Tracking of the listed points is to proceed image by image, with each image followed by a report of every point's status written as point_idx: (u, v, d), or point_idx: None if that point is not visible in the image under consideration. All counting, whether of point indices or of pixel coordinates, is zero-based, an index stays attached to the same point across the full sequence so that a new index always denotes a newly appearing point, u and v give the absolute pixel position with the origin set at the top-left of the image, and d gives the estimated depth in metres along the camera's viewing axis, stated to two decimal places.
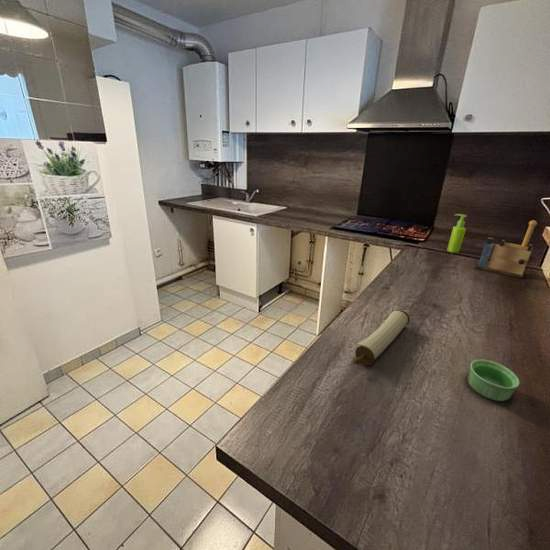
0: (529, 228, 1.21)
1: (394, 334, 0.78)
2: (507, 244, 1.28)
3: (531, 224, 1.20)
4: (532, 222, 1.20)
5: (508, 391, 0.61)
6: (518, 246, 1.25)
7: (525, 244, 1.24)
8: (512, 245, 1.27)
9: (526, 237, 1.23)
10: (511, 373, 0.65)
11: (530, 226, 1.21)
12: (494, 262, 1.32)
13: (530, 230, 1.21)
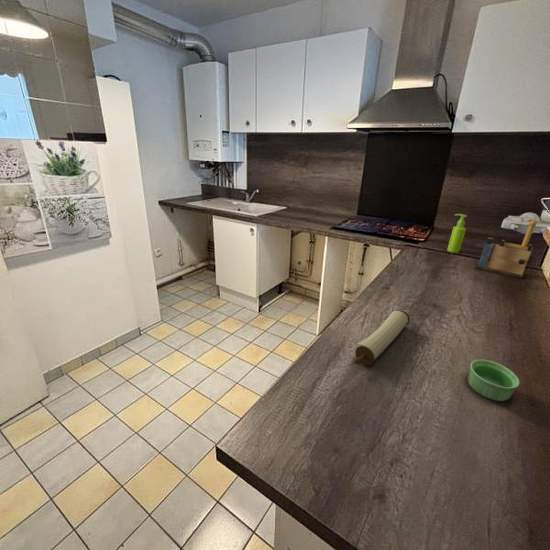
0: (529, 228, 1.21)
1: (394, 334, 0.78)
2: (507, 244, 1.28)
3: (531, 224, 1.20)
4: (532, 222, 1.20)
5: (508, 391, 0.61)
6: (518, 246, 1.25)
7: (525, 244, 1.24)
8: (512, 245, 1.27)
9: (526, 237, 1.23)
10: (511, 373, 0.65)
11: (530, 226, 1.21)
12: (494, 262, 1.32)
13: (530, 230, 1.21)
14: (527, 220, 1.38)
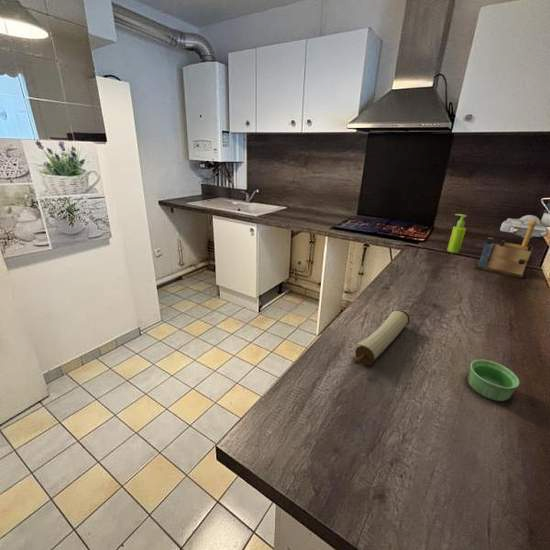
0: (529, 228, 1.21)
1: (394, 334, 0.78)
2: (507, 244, 1.28)
3: (531, 224, 1.20)
4: (532, 222, 1.20)
5: (508, 391, 0.61)
6: (518, 246, 1.25)
7: (525, 244, 1.24)
8: (512, 245, 1.27)
9: (526, 237, 1.23)
10: (511, 373, 0.65)
11: (530, 226, 1.21)
12: (494, 262, 1.32)
13: (530, 230, 1.21)
14: (527, 223, 1.32)
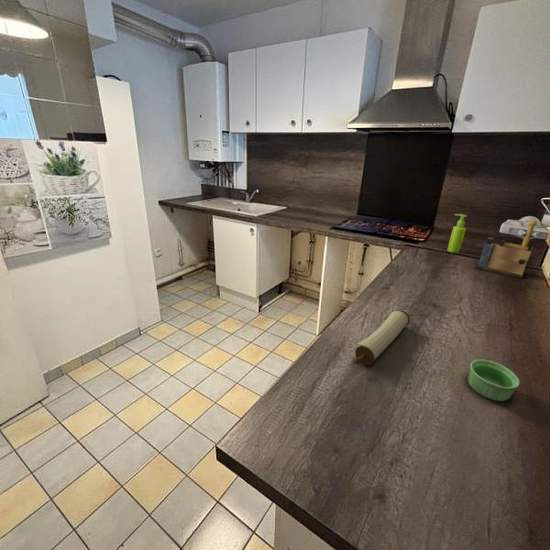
0: (529, 228, 1.21)
1: (394, 334, 0.78)
2: (507, 244, 1.28)
3: (531, 224, 1.20)
4: (532, 222, 1.20)
5: (508, 391, 0.61)
6: (518, 246, 1.25)
7: (525, 244, 1.24)
8: (512, 245, 1.27)
9: (526, 237, 1.23)
10: (511, 373, 0.65)
11: (530, 226, 1.21)
12: (494, 262, 1.32)
13: (530, 230, 1.21)
14: (527, 224, 1.29)
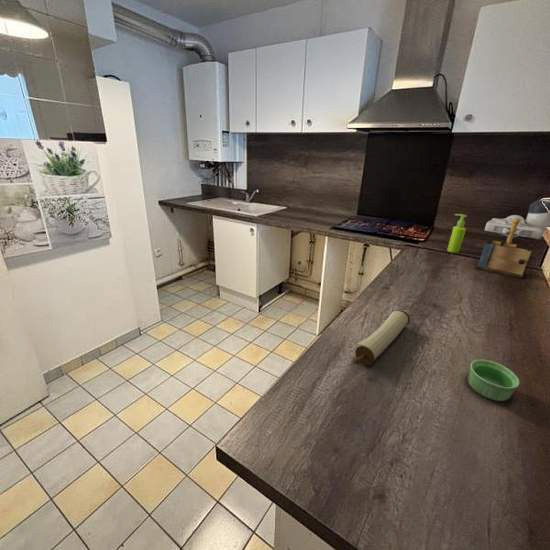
0: (513, 226, 1.25)
1: (394, 334, 0.78)
2: (492, 242, 1.31)
3: (514, 221, 1.23)
4: (515, 220, 1.23)
5: (508, 391, 0.61)
6: None
7: (509, 241, 1.27)
8: (497, 242, 1.30)
9: (510, 235, 1.26)
10: (511, 373, 0.65)
11: (513, 224, 1.24)
12: (494, 262, 1.32)
13: (514, 228, 1.24)
14: (511, 223, 1.33)
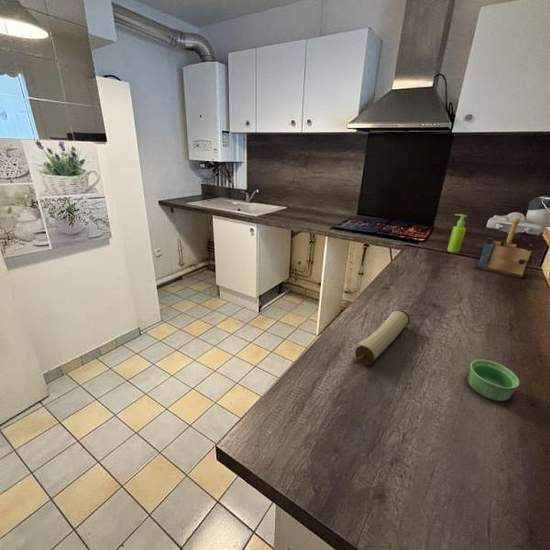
0: (512, 226, 1.25)
1: (394, 334, 0.78)
2: (492, 242, 1.31)
3: (514, 222, 1.23)
4: (515, 220, 1.23)
5: (508, 391, 0.61)
6: None
7: (509, 241, 1.27)
8: (497, 242, 1.30)
9: (510, 235, 1.26)
10: (511, 373, 0.65)
11: (513, 224, 1.24)
12: (494, 262, 1.32)
13: (514, 228, 1.24)
14: None
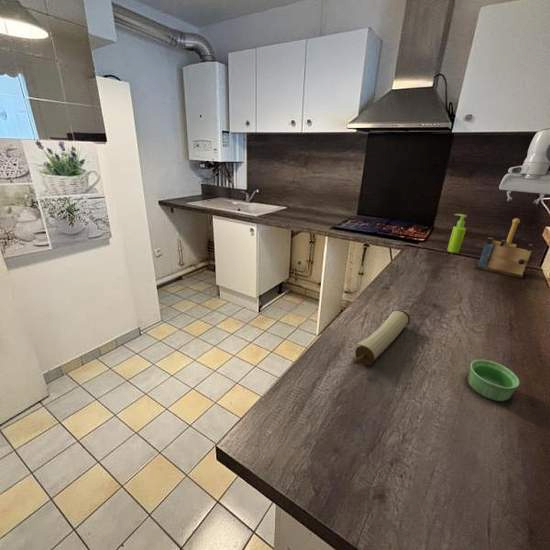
0: (512, 226, 1.25)
1: (394, 334, 0.78)
2: (492, 242, 1.31)
3: (514, 222, 1.23)
4: (515, 220, 1.23)
5: (508, 391, 0.61)
6: None
7: (509, 241, 1.27)
8: (497, 242, 1.30)
9: (510, 235, 1.26)
10: (511, 373, 0.65)
11: (513, 224, 1.24)
12: (494, 262, 1.32)
13: (514, 228, 1.24)
14: (528, 178, 1.25)
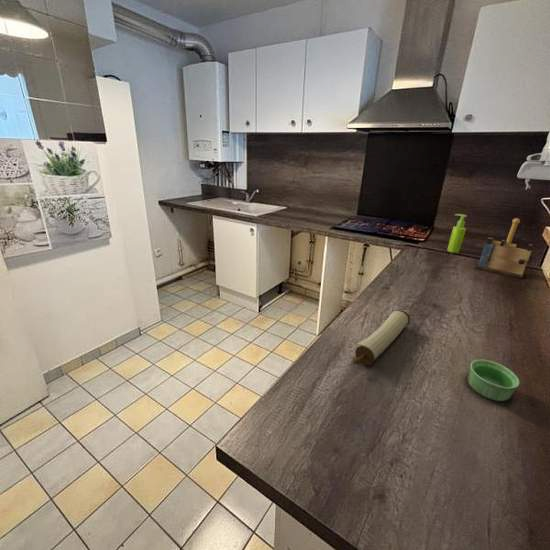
0: (512, 226, 1.25)
1: (394, 334, 0.78)
2: (492, 242, 1.31)
3: (514, 222, 1.23)
4: (515, 220, 1.23)
5: (508, 391, 0.61)
6: None
7: (509, 241, 1.27)
8: (497, 242, 1.30)
9: (510, 235, 1.26)
10: (511, 373, 0.65)
11: (513, 224, 1.24)
12: (494, 262, 1.32)
13: (514, 228, 1.24)
14: None
